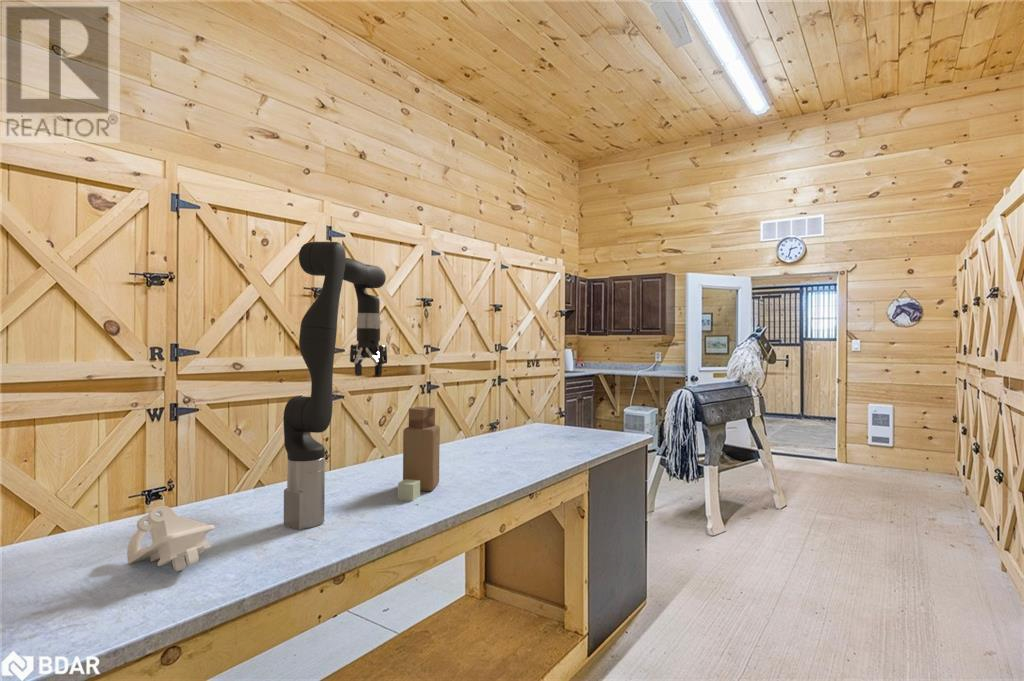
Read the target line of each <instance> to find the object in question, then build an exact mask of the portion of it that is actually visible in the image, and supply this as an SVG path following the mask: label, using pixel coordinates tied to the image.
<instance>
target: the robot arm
mask: <svg viewBox="0 0 1024 681" xmlns="http://www.w3.org/2000/svg"><path fill="white" fill-rule="evenodd" d="M345 250H346V249H345V248H344V246H343V244H342V243H340V242H339V241H310V242H309V241H308V242H306V243H304V244H303V245H302V246H301V247H300V250H299V253H298V262H299V266H300V268H301V270H302V271H304V273H306V274H308V275H311V276H314V277H315V276H316V277H317V276H319V277H324V279H323V283H322V288H321V290H320V292H319V294H318V296H317V297H316V299H315V300H314V301H313V303H312V304H311V306H310V307H309V308H308V309H307V311H306V312H305V314H304V315H303V317H302V319H301V321H300V328H299V338H298V346H299V350H300V354H301V356H302V359H303V362H304V363H305V365H306V367H307V369H308V371H309V374H310V375H309V376H310V381H311V383H310V384H311V388H310V389H311V391H310V396H302V395H301V396H299V395H298V396H297V395H296V396H293V397H291V398H290V399H288V401H287V402H286V404H285V406H284V410H283V419H282V420H283V438H284V441H283V442H284V448H285V451H286V453H287V454H286V455H287V459H286V460H287V461H286V462H287V465H286V466H287V468H286V471H287V473H286V474H287V475H286V477H287V480H286V481H287V482H286V484H287V485H286V486H287V487H286V488H284V489H283V526H285V527H287V528H293V529H296V530H299V531H300V530H303V529H307V528H308V529H309V528H313V527H317V526H320V525H322V524H323V523H324V522H325V496H326V494H325V492H326V491H325V488H326V487H325V485H326V484H325V482H326V481H325V480H326V479H325V478H326V476H325V475H326V472H325V471H326V448H325V445H323V444H322V443H320V442H319V441H317V440H316V439H314V438H313V436H312V434H311V433H313V434H320V433H324V432H326V430H327V429H328V428H329V426H330V424H331V422H332V417H333V397H334V396H333V375H334V360H335V359H334V358H335V350H336V343H337V331H338V316H339V307H340V298H341V291H342V286H343V282H344V281H345V282H348V283H351V284H353V287H354V290H355V291H354V292H355V294H356V295H355V296H356V299H357V300H356V301H357V317H356V342H358V343H357V344H350V347H349V348H350V351H349V362H350V363H352V364H354V373H355V377H359V376H360V377H361V376H362V374H363V366H362V365H363V364H362V363H363V362H364V360H365V359H366V358H367V359H370V360H372V362H373V363H374V377H375V378H380V377H381V376H382V373H383V365H385V364H388V350H387V345H385V344H381V345H380V344H379V343H380V341H381V317H380V309H381V307H380V305H381V304H380V302H381V301H380V298H379V297H378V296H377V295H372V294H369V293H368V290H367V289H380V288H382V287H383V286H384V285H385V283H386V279H387V277H386V274H385V271H384V269H382V267H379V266H377V265H373V264H366V263H363V262H361V261H359V260H356V259H355V258H354V259H353V258H349V257H346V251H345Z"/></svg>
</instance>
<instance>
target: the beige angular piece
mask: <svg viewBox="0 0 1024 681" xmlns="http://www.w3.org/2000/svg"><path fill="white" fill-rule="evenodd" d="M145 522H146V523H145ZM136 528H137V530H136V531H135V533H133V534H132V536H131V538H130V540H129V542H128V544H127V549H126V556H127V562H128V565H131V564H134V563H138V562H141V561H146V560H150V563H151V562H155V561H157V560H158V561H157V566H158V567H161V566H163V565H164V566H165V565H166V564H168V563H170V562H171V563H172V567H173V570H174V571H175V572H180V571H183V570H185V569H186V566H187V565H186V564H188V565H192V564H195V563H198V562H199V559H200V557H199V554H200V553H202V552H204V551H205V550H207V549H209V548H211V543H210V542H207V539H206V536H205V535H207V534H208V533H210V532H212V531H214V530H215V529H216V527H215V525H214V524H208V523H206V522H202V521H199V520H196V519H191V518H187V517H183V516H179V515H177V514H176V513H175V512H174V510H173V509H172V507H170V506H167V505H159V506H155V507H154V508H153V509H151V510H150V511H149V512H148V514H145V515H144V516H142V517H141V518H139V519H138V520H137V522H136ZM147 532H150V537H151V541H152V544H151V545H149V546H144V547H142V548H141V542H142V539H143V538H144V535H146V533H147Z"/></svg>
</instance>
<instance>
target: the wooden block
mask: <svg viewBox="0 0 1024 681" xmlns="http://www.w3.org/2000/svg"><path fill="white" fill-rule="evenodd" d="M440 433H441V432H440V425H438V424H435V426H432V427H428V428H414V427H409V426H407V427H405V428H404V429H403V431H402V481H403V480H405V479H409V480H420V492H433V490H435V488H436V487H437V486H438V485H439V484H440V447H441V446H440V445H441V444H440V441H441V440H440Z"/></svg>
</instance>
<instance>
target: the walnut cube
mask: <svg viewBox="0 0 1024 681" xmlns="http://www.w3.org/2000/svg"><path fill="white" fill-rule="evenodd" d="M435 425H436V407H430V406H415V407H409V408H408V427H414V428H428V427H432V426H435Z"/></svg>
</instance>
